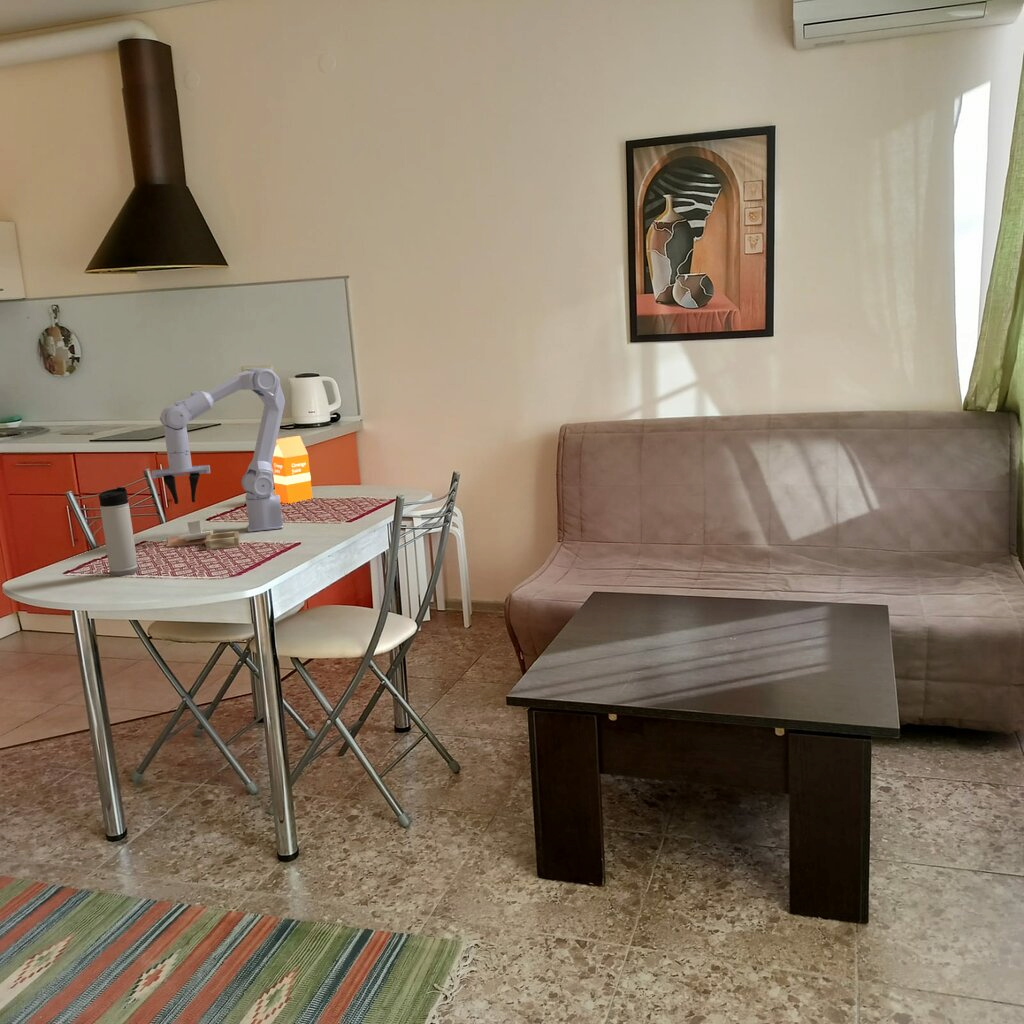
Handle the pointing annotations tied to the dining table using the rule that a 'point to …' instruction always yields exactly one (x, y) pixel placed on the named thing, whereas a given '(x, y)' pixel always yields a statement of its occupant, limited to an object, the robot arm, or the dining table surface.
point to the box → (222, 540)
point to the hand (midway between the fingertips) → (185, 502)
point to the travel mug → (118, 532)
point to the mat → (181, 542)
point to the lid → (195, 531)
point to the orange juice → (291, 470)
